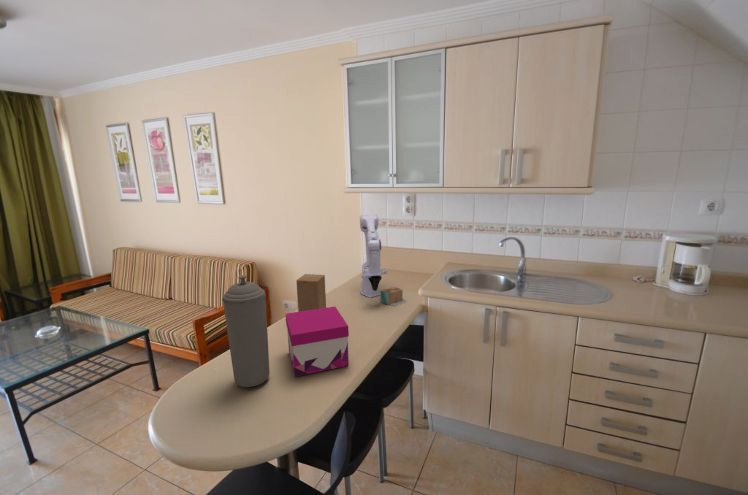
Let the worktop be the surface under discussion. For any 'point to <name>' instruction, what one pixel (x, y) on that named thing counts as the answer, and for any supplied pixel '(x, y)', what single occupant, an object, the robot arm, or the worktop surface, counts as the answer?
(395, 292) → the brown teal box
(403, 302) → the mat
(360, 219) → the robot arm
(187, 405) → the worktop surface
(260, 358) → the canister
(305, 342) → the decorative box
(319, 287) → the wooden block
